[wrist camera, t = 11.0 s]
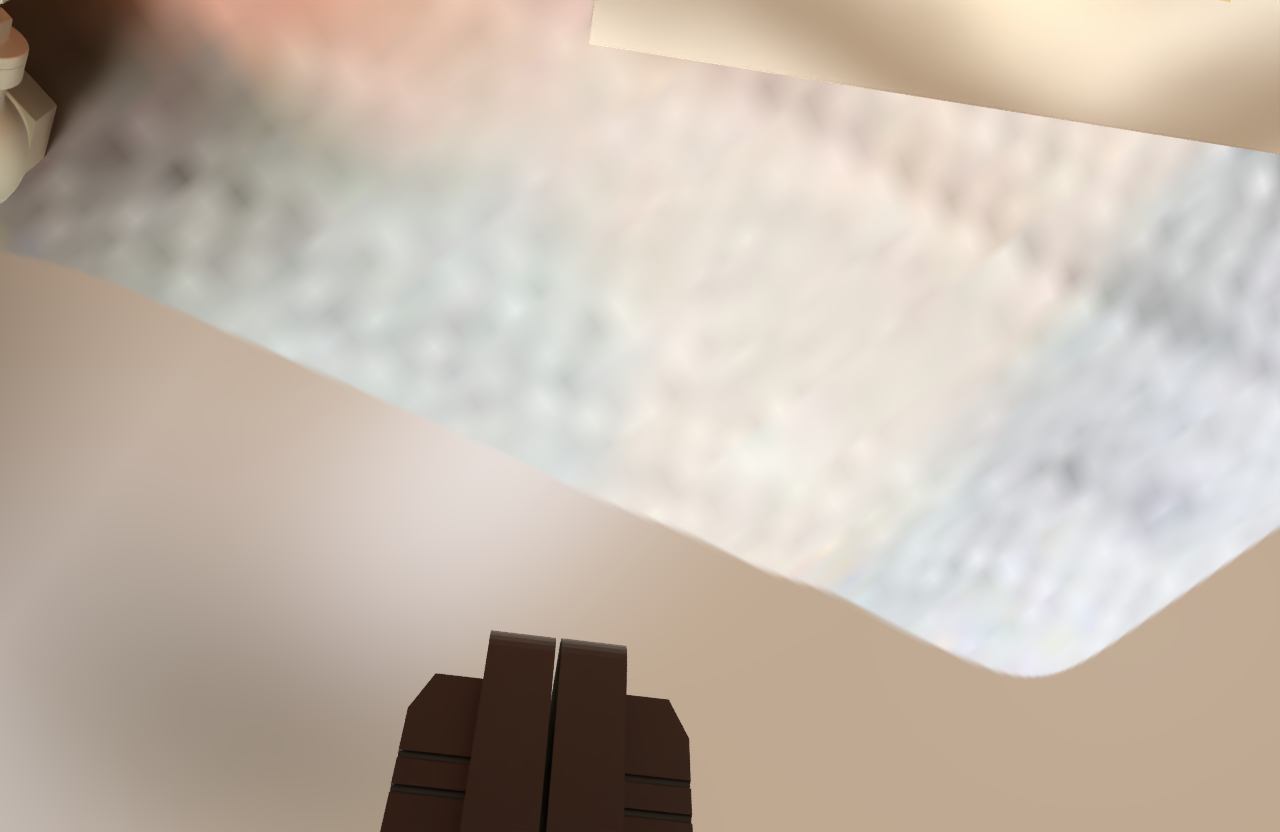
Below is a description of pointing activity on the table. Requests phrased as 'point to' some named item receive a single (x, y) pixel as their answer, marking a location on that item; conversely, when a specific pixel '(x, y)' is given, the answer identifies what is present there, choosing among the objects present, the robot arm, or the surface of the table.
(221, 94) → the table surface
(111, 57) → the table surface
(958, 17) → the pipe board
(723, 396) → the table surface
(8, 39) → the valve
